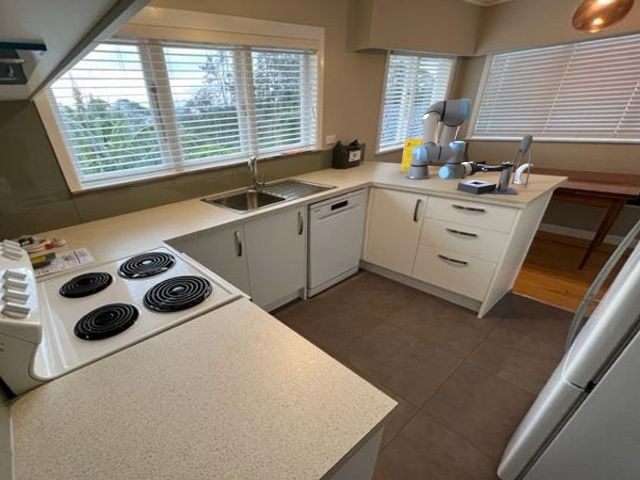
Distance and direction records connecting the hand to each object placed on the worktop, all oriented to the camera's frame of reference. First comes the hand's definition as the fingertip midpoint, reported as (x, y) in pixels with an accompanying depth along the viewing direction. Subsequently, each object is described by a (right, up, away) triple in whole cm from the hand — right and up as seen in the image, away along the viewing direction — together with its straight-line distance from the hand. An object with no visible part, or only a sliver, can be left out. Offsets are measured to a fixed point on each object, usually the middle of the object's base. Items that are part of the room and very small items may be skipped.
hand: (496, 164), depth 170 cm
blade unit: (+11, -13, +9) cm, 19 cm away
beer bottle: (+11, +5, +47) cm, 48 cm away
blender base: (-1, -11, +15) cm, 19 cm away
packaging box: (-5, +20, +82) cm, 84 cm away
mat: (+11, -13, +9) cm, 19 cm away
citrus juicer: (+23, -8, +17) cm, 30 cm away
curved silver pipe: (+32, -6, +21) cm, 39 cm away
